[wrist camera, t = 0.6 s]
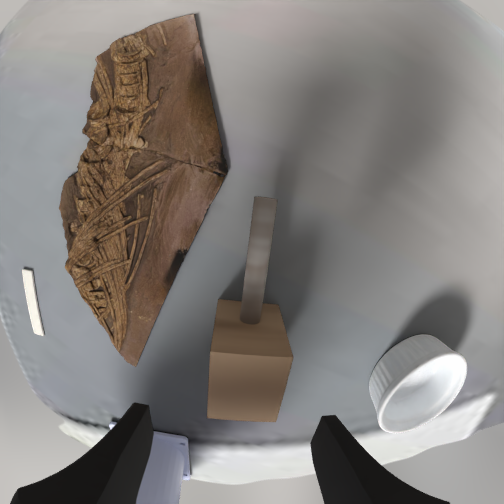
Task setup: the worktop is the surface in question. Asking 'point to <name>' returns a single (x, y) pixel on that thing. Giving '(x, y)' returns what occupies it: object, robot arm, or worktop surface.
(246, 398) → the mallet
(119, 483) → the robot arm
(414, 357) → the ramekin
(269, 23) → the worktop surface
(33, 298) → the strip
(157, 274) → the wooden fragment
